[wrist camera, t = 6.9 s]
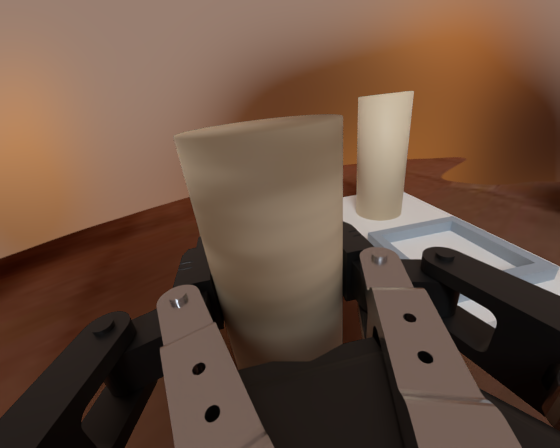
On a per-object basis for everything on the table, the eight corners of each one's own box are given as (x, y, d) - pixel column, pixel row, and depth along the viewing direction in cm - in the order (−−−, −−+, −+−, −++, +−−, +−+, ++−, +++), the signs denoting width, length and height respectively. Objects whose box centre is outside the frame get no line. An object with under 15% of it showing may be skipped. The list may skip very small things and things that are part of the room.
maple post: (225, 391, 12) (141, 139, 7) (284, 326, 16) (256, 118, 10) (306, 468, 10) (263, 138, 4) (359, 369, 13) (371, 111, 8)
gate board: (599, 309, 16) (746, 57, 10) (427, 355, 15) (482, 92, 9) (394, 198, 36) (404, 90, 30) (312, 213, 34) (305, 103, 28)
